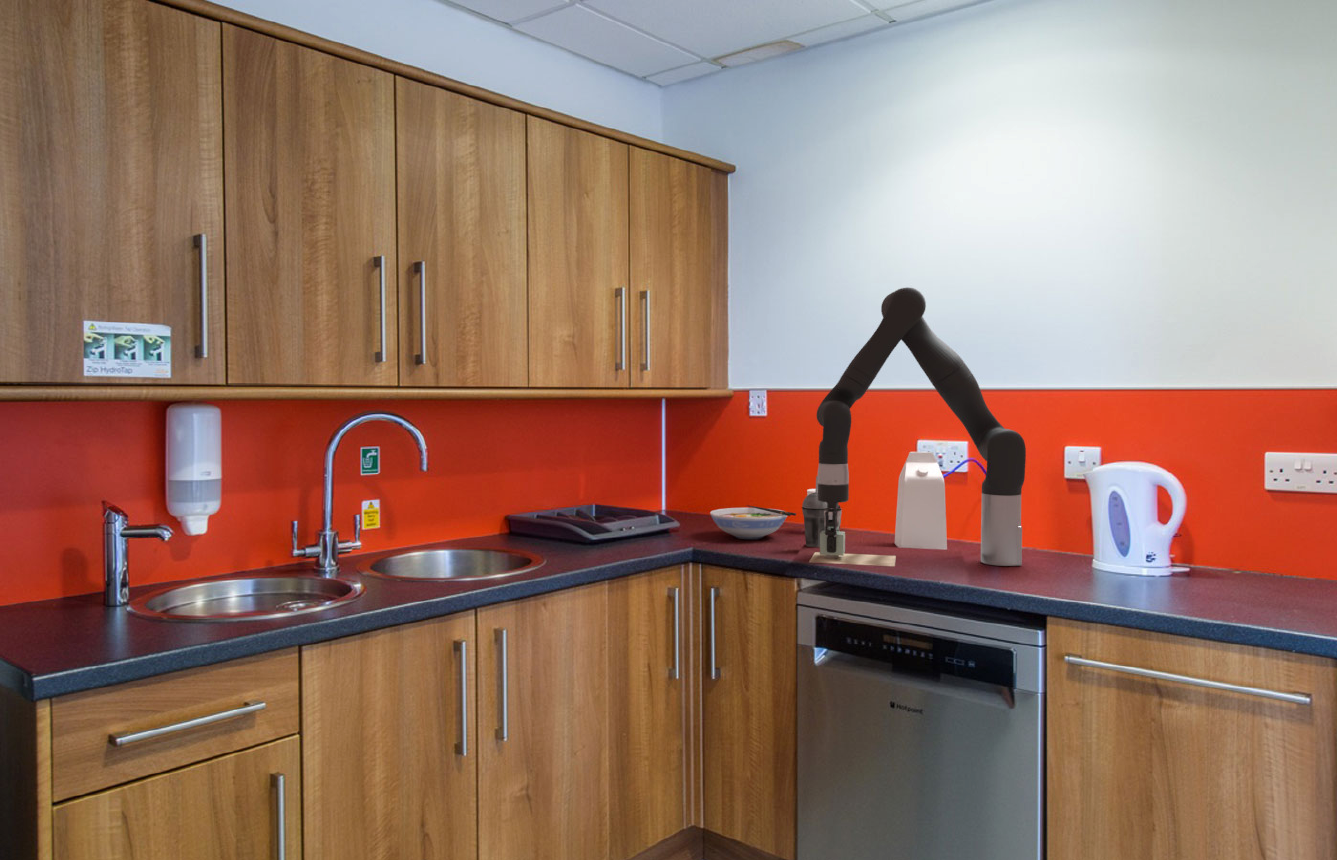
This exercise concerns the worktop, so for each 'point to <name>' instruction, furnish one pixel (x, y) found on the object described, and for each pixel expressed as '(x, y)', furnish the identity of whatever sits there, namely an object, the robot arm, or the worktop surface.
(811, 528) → the beverage cup
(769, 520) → the ramen bowl
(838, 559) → the post board
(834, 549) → the robot arm
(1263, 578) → the worktop surface
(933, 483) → the milk
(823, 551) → the grey-green block
